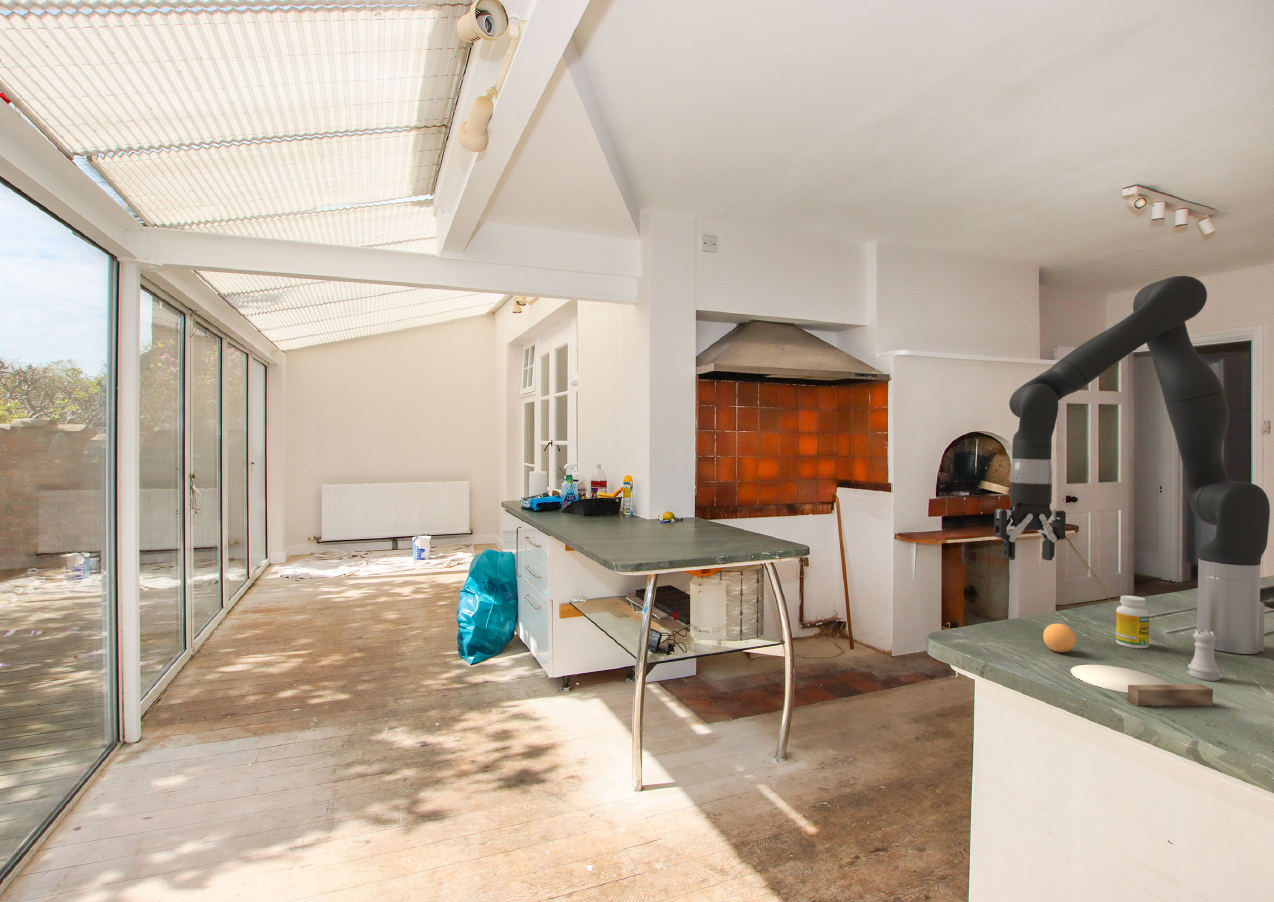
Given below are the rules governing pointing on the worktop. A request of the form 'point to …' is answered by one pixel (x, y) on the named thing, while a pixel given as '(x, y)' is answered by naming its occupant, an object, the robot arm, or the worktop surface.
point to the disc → (1113, 677)
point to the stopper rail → (1170, 695)
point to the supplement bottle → (1132, 622)
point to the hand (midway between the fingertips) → (1028, 559)
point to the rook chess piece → (1204, 657)
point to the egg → (1059, 637)
